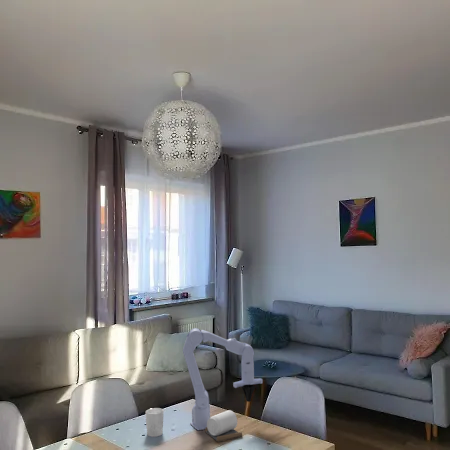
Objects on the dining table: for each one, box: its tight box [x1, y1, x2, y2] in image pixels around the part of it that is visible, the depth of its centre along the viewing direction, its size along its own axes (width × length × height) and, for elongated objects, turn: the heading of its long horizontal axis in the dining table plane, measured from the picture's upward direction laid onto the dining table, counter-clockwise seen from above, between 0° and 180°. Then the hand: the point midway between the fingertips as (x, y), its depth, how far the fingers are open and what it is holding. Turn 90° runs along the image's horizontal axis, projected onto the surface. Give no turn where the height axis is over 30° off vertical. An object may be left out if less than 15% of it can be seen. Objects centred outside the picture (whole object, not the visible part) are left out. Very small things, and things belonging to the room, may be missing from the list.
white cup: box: [145, 407, 165, 438], centre depth 203 cm, size 8×8×10 cm
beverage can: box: [207, 409, 238, 436], centre depth 202 cm, size 8×8×12 cm
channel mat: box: [204, 427, 243, 443], centre depth 201 cm, size 13×12×2 cm
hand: (248, 401), depth 213 cm, fingers closed
